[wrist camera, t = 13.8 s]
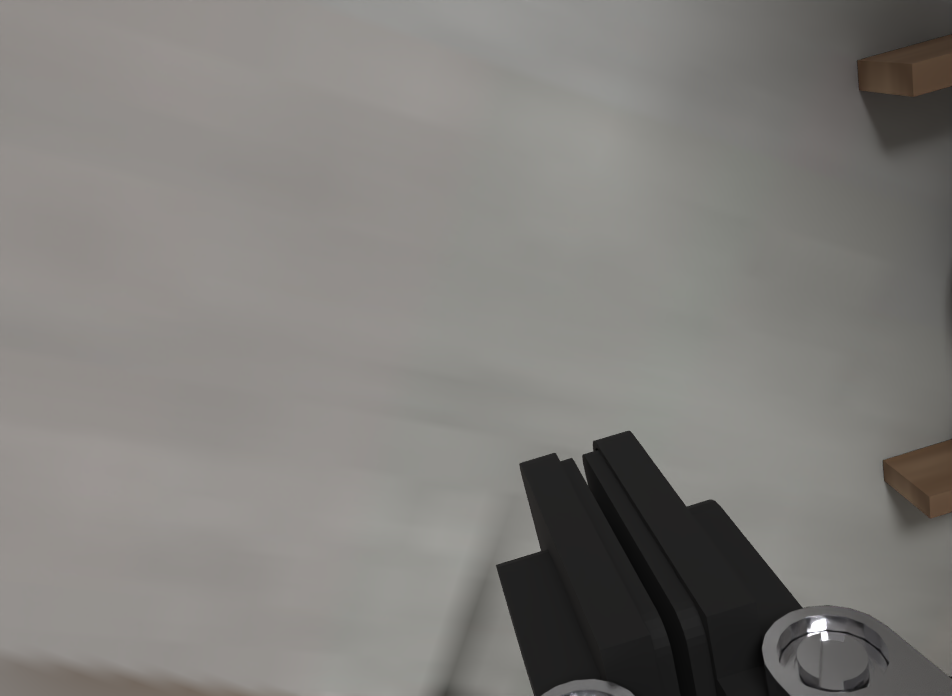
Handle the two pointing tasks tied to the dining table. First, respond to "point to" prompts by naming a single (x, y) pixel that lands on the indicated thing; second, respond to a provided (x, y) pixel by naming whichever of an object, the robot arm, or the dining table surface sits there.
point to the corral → (911, 74)
